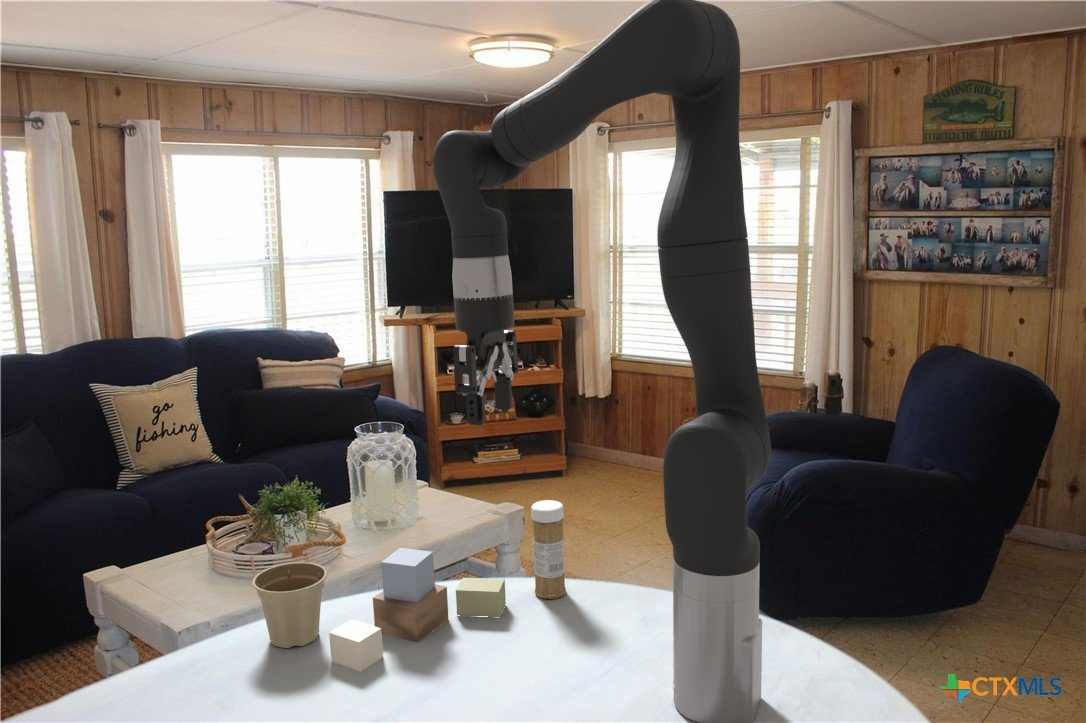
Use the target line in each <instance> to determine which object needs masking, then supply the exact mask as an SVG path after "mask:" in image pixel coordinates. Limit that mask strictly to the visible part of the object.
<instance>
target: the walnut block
mask: <svg viewBox="0 0 1086 723" xmlns="http://www.w3.org/2000/svg"><path fill="white" fill-rule="evenodd" d="M448 605H449V604H448V588H447V586H445V585H440V584H436V583H435V587H434V588H433V589H432V590H431V591H430V592H428V593H427V594H426V595H425V596H424V597H423V598H422V599H421V600H420V601H418V602H411V601H404V600H397V599H390V598H384V593H383V591H381V592H380V593H378V594H376V595H375V596H373V597H372V607H373V620H374V621H373V622H374V626H375V627H378V628H381V632H382V634H383V635H387V636H391V637H395V638H397V639H398V638H399V639H402V640H405V641H409V642H413V643H419V642H420V641H422V640H423V639H425V638H426V637H428V634H429V635H430V634H431V633H433V632H434V631H436V630H437V629H438V628H440V627H441V626H442V625H443V623H444V622H445V623H447V622H448V621H449V620H450V619H449V606H448ZM448 619H449V620H448ZM447 620H448V621H447ZM445 623H444V624H445ZM441 624H442V625H441ZM440 625H441V626H440ZM439 626H440V627H439ZM436 628H437V629H436ZM432 631H433V632H432Z"/></svg>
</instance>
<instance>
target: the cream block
mask: <svg viewBox="0 0 1086 723" xmlns="http://www.w3.org/2000/svg"><path fill="white" fill-rule="evenodd" d="M382 634H383V633H382V632H381V628H378V627H375V625H372V624H369V623H365V622H362V621H360V620H356V619H350V620H348V621H347V622H345V623H343V624H342V625H339V626H338V627H336V628H334V629H332V630H331V631H330V632H328V635H329V650H330V659H331V662H333V663H335V664H338V665H341V666H344V667H347V668H350V669H352V670H355V671H358V672H362V671H364V670H366V669H367V668H368V667H370V666H372V665H373V664H375V663H376V662H378V661H380V660H381V659H382V658H384V649H383V635H382Z"/></svg>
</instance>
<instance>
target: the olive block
mask: <svg viewBox="0 0 1086 723" xmlns="http://www.w3.org/2000/svg"><path fill="white" fill-rule="evenodd" d="M506 598H507V597H506V579H505V578H504V579H503V578H484V577H483V578H481V577H477V578H476V577H462V579H461V580H460V582H459V583H458V586H457V587H456V589H455V602H456V616H457V615H460V616H488V617H500V616H501V617H502V615H501V613H502V611H503V609H504V610H505V608H506V606H505V604H506V605H507V601H506V600H507V599H506ZM504 607H505V608H504ZM503 612H504V611H503ZM502 614H503V613H502ZM460 616H459V617H460ZM501 617H500V618H501Z"/></svg>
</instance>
